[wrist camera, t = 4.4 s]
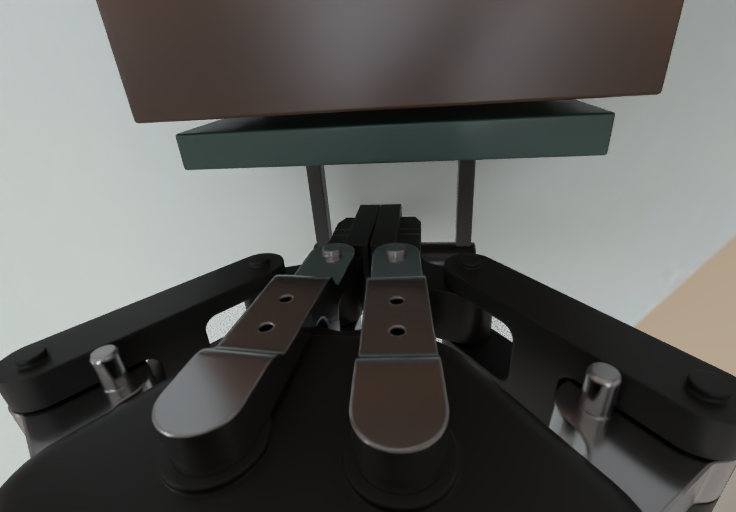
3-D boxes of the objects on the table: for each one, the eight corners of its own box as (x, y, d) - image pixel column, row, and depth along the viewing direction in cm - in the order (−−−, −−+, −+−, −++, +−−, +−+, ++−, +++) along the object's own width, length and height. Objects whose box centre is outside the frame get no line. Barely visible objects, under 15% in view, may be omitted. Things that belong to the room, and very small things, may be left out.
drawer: (524, 225, 21) (574, 316, 14) (287, 228, 23) (223, 309, 16) (590, -326, 13) (811, -837, 5) (204, -247, 15) (-17, -541, 7)
